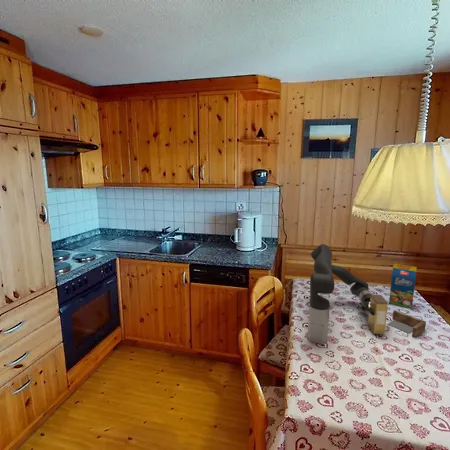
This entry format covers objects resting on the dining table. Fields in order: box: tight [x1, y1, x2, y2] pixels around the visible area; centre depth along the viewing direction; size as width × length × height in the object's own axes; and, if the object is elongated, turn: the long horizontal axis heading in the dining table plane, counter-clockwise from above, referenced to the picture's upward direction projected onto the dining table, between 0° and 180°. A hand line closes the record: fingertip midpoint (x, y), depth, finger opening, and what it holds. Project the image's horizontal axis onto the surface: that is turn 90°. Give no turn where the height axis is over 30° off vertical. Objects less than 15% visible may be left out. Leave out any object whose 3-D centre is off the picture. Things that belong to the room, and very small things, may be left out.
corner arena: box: [392, 309, 427, 339], centre depth 157 cm, size 16×12×5 cm
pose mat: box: [386, 319, 413, 334], centre depth 159 cm, size 11×7×1 cm, turn 36°
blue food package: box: [388, 263, 418, 309], centre depth 182 cm, size 6×12×25 cm, turn 56°
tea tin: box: [367, 293, 389, 335], centre depth 153 cm, size 9×5×17 cm, turn 172°
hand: (379, 314), depth 151 cm, fingers closed on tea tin, 5 cm apart
